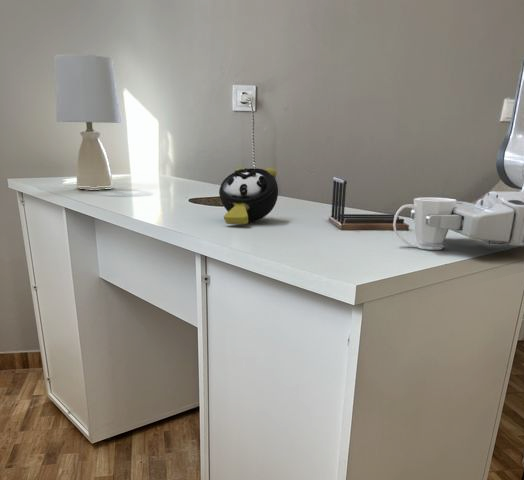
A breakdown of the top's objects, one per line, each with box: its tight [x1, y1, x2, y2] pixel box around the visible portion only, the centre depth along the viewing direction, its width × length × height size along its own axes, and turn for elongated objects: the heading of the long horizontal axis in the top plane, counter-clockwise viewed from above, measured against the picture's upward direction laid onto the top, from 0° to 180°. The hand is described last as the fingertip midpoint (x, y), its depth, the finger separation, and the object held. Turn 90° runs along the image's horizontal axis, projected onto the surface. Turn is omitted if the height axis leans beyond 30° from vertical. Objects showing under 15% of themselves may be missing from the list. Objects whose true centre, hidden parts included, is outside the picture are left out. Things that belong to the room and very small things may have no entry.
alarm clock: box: [218, 167, 279, 225], centre depth 118 cm, size 12×15×15 cm
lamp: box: [53, 53, 122, 189], centre depth 169 cm, size 19×19×37 cm
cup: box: [393, 196, 458, 251], centre depth 94 cm, size 7×10×8 cm
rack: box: [328, 176, 410, 231], centre depth 116 cm, size 14×12×9 cm
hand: (419, 217), depth 93 cm, fingers closed on cup, 6 cm apart
